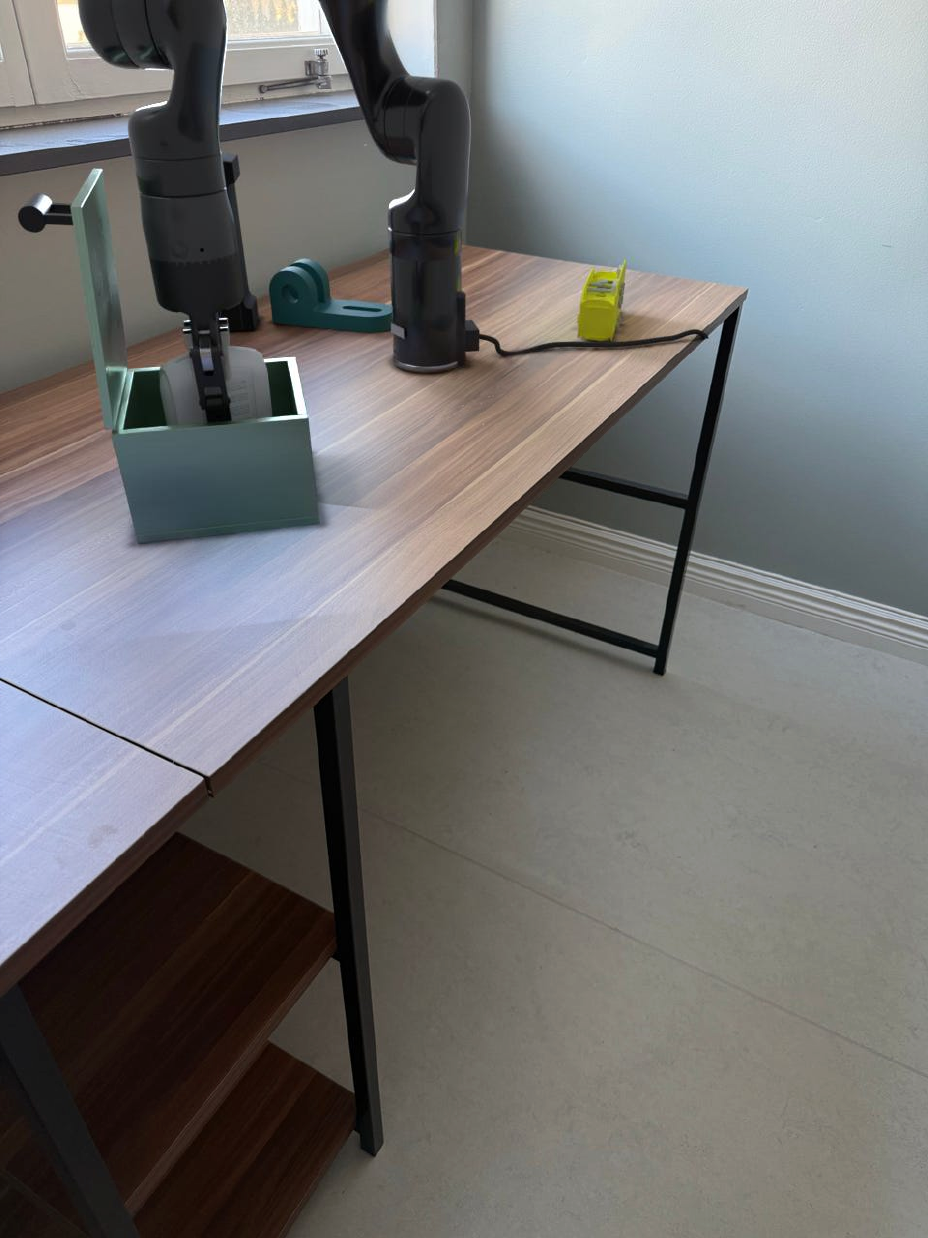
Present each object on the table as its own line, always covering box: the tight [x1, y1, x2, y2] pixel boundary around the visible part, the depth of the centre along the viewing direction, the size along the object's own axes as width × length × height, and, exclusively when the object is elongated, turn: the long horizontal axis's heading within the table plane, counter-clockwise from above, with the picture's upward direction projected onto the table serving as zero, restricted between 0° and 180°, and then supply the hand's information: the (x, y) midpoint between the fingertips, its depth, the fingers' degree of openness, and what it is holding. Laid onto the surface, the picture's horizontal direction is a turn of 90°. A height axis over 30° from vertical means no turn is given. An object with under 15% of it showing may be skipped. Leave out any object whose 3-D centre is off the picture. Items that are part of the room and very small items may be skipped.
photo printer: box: [159, 345, 273, 426], centre depth 85 cm, size 10×4×12 cm, turn 123°
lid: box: [17, 168, 129, 431], centre depth 76 cm, size 18×16×6 cm
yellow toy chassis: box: [576, 259, 627, 342], centre depth 130 cm, size 16×6×8 cm, turn 167°
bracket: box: [268, 258, 392, 333], centre depth 132 cm, size 18×7×8 cm, turn 74°
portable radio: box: [221, 152, 260, 332], centre depth 126 cm, size 8×6×25 cm
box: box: [110, 356, 320, 544], centre depth 87 cm, size 17×16×11 cm
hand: (223, 429), depth 86 cm, fingers closed on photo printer, 5 cm apart
